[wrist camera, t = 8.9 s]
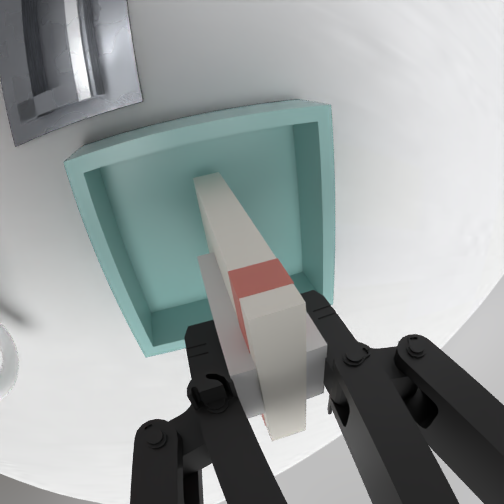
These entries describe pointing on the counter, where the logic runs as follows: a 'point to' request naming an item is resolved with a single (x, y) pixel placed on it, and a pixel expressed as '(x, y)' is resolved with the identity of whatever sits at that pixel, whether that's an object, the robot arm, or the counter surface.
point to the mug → (8, 362)
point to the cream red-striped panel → (259, 304)
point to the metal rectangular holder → (64, 62)
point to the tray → (188, 213)
